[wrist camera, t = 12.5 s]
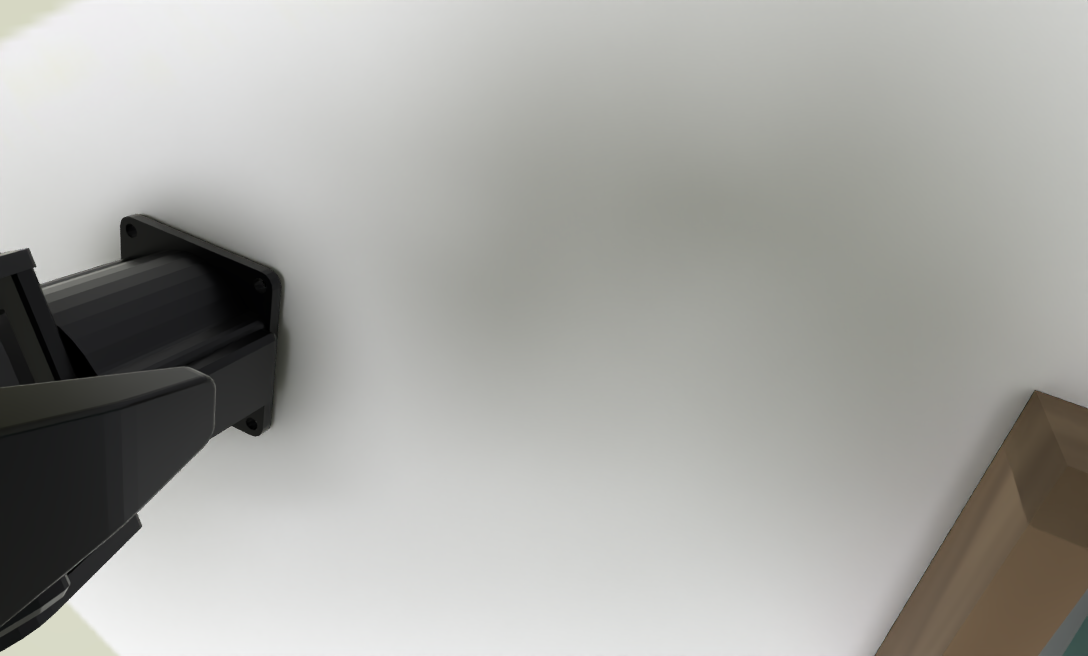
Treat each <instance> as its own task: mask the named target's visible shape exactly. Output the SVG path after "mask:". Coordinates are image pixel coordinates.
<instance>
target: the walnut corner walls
mask: <svg viewBox="0 0 1088 656" xmlns="http://www.w3.org/2000/svg"><path fill="white" fill-rule="evenodd" d="M1087 589H1088V409H1087V408H1084V407H1081V406H1079V405H1076V404H1073V403H1070V402H1067V401H1065V400H1062V399H1059V398H1056V397H1053V396H1050V395H1048V394H1045V393H1042V392H1039V391H1036V390H1035V391H1034V393H1033V395H1032V396H1031V398H1030V400H1029V401H1028V403H1027V405H1026V406H1025V408H1024V410H1023V411H1022V413H1021V414H1020V416H1019V418H1018V419H1017V421H1016V423H1015V424H1014V426H1013V428H1012V429H1011V431H1010V433H1009V434H1008V436H1007V438H1006V439H1005V441H1004V443H1003V444H1002V446H1001V448H1000V449H999V451H998V453H997V454H996V456H995V458H994V459H993V461H992V462H991V464H990V466H989V467H988V469H987V471H986V472H985V474H984V476H983V477H982V479H981V481H980V482H979V484H978V486H977V487H976V489H975V491H974V492H973V494H972V496H971V497H970V499H969V501H968V502H967V504H966V506H965V507H964V509H963V511H962V512H961V514H960V515H959V517H958V519H957V520H956V522H955V524H954V525H953V527H952V529H951V530H950V532H949V534H948V535H947V537H946V539H945V540H944V542H943V544H942V545H941V547H940V549H939V550H938V552H937V554H936V555H935V557H934V559H933V560H932V562H931V564H930V565H929V567H928V568H927V570H926V572H925V573H924V575H923V577H922V578H921V580H920V582H919V583H918V585H917V587H916V588H915V590H914V592H913V593H912V595H911V597H910V598H909V600H908V602H907V603H906V605H905V607H904V608H903V610H902V612H901V613H900V615H899V616H898V618H897V620H896V621H895V623H894V625H893V626H892V628H891V630H890V631H889V633H888V635H887V636H886V638H885V640H884V641H883V643H882V645H881V646H880V648H879V650H878V651H877V653H876V655H875V656H1038V655H1039V654H1040V652H1041V651H1042V650H1043V648H1044V647H1045V646H1046V644H1047V643H1048V642H1049V640H1050V639H1051V638H1052V636H1053V635H1054V633H1055V632H1056V631H1057V629H1058V628H1059V627H1060V625H1061V624H1062V623H1063V621H1064V620H1065V619H1066V617H1067V616H1068V615H1069V613H1070V612H1071V611H1072V609H1073V608H1074V607H1075V605H1076V604H1077V603H1078V601H1079V600H1080V598H1081V597H1082V596H1083V594H1084V593H1085V592H1086V590H1087Z"/></svg>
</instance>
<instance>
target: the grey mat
mask: <svg viewBox="0 0 1088 656" xmlns="http://www.w3.org/2000/svg"><path fill="white" fill-rule="evenodd" d="M1087 615H1088V589H1087V590H1086V592H1085V593H1084V594H1083V596H1082V597H1081V598H1080V600H1079V601H1078V603H1077V604H1076V605H1075V607H1074V608H1073V609H1072V611H1071V612H1070V613H1069V615H1068V616H1067V617H1066V619H1065V620H1064V621H1063V623H1062V624H1061V625H1060V627H1059V628H1058V629H1057V631H1056V632H1055V633H1054V635H1053V636H1052V638H1051V639H1050V640H1049V642H1048V643H1047V644H1046V646H1045V647H1044V648H1043V650H1042V651H1041V652H1040V654H1039V655H1038V656H1063V654H1064V652H1065V651H1066V649H1067V648H1068V646H1069V644H1070V643H1071V641H1072V639H1073V638H1074V636H1075V635H1076V633H1077V631H1078V630H1079V628H1080V626H1081V625H1082V623H1083V622H1084V620H1085V618H1086V617H1087Z"/></svg>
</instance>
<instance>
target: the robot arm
mask: <svg viewBox="0 0 1088 656" xmlns="http://www.w3.org/2000/svg"><path fill="white" fill-rule="evenodd" d="M120 236H121V260H118V261H114V262H111V263H108V264H105V265H101V266H98V267H95V268H92V269H88V270H85V271H82V272H79V273H75V274H72V275H69V276H65V277H62V278H59V279H56V280H52V281H49V282H46V283H43V284H39V281H38V279H37V277H36V274H35V272H34V269H33V268H34V267H36V264H35V262H34V259H33V257H32V254H31V252H30V250H29V248H25V249H20V250H15V251H9V252H4V253H0V652H1V651H3V650H5V649H6V648H8V647H10V646H11V645H13V644H15V643H16V642H18V641H20V640H21V639H23V638H24V637H26V636H27V635H29V634H30V633H32V632H33V631H34V630H36V629H37V628H39V627H40V626H41V625H42V624H43V623H45V622H46V621H47V620H48V619H49V618H50V617H51V616H52V615H54V614H55V613H56V612H57V611H58V610H59V609H60V608H61V607H62V606H63V605H64V604H65V603H66V602H67V601H68V600H69V599H70V598H71V597H72V596H73V595H74V594H75V593H76V592H77V591H78V590H79V589H80V588H81V587H82V586H83V585H84V584H85V583H86V582H87V581H88V580H89V579H90V578H91V577H92V576H93V575H94V574H95V573H96V572H97V571H98V570H99V569H100V568H101V567H102V566H103V565H104V564H105V563H106V562H107V561H108V560H109V559H110V558H111V557H112V556H113V555H114V554H115V553H116V552H117V551H118V550H119V549H120V548H121V547H122V546H123V545H124V544H125V543H126V542H127V541H128V540H129V539H130V538H131V537H132V536H133V535H134V534H135V533H136V532H137V531H138V530H139V529H140V528H141V527H142V524H141V522H140V519H139V517H138V514H137V512H139V511H140V510H141V509H142V508H143V507H144V506H145V505H146V504H147V503H148V502H149V501H150V500H151V499H152V498H153V497H154V496H155V495H156V494H157V493H158V492H159V491H160V490H161V489H162V488H163V487H164V486H165V485H166V484H167V483H168V482H169V481H170V480H171V479H172V478H173V477H174V476H175V475H176V474H177V473H178V472H179V471H180V470H181V469H182V468H183V467H184V466H185V465H186V464H187V463H188V462H189V461H190V460H191V459H192V458H193V457H194V456H195V455H196V454H197V453H198V452H199V451H200V450H201V449H202V448H203V447H204V446H205V445H206V444H207V442H208V441H209V440H210V439H211V438H212V437H214V436H216V435H217V434H219V433H220V432H222V431H224V430H225V429H227V428H229V427H230V426H233V427H235V428H237V429H239V430H241V431H243V432H245V433H247V434H249V435H252V436H259V435H261V434H262V433H264V432H265V431H267V430H268V429H269V428H270V425H271V413H272V399H273V387H274V373H275V360H276V347H277V333H278V320H279V306H280V293H281V283H280V280H279V277H278V275H277V274H276V273H275V272H274V271H273V270H271V269H270V268H267V267H265V266H263V265H260V264H258V263H255V262H253V261H251V260H248V259H246V258H243V257H241V256H239V255H236V254H234V253H231V252H229V251H227V250H224V249H222V248H219V247H217V246H215V245H212V244H210V243H207V242H205V241H203V240H200V239H198V238H195V237H193V236H191V235H188V234H186V233H183V232H181V231H179V230H176V229H174V228H171V227H169V226H167V225H164V224H162V223H159V222H157V221H155V220H152V219H150V218H147V217H145V216H143V215H140V214H135V215H131V216H127V217H124V218H123V219H122V220H121V224H120ZM262 280H263V281H264V282H265V284H266V287H265V286H264V284H263V281H262Z"/></svg>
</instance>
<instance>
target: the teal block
mask: <svg viewBox="0 0 1088 656" xmlns="http://www.w3.org/2000/svg"><path fill="white" fill-rule="evenodd" d="M1063 656H1088V615H1087V617H1086V618H1085V620H1084V622H1083V623H1082V625H1081V626H1080V628H1079V630H1078V631H1077V633H1076V635H1075V636H1074V638H1073V639H1072V641H1071V643H1070V644H1069V646H1068V648H1067V649H1066V651H1065V652H1064V654H1063Z"/></svg>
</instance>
